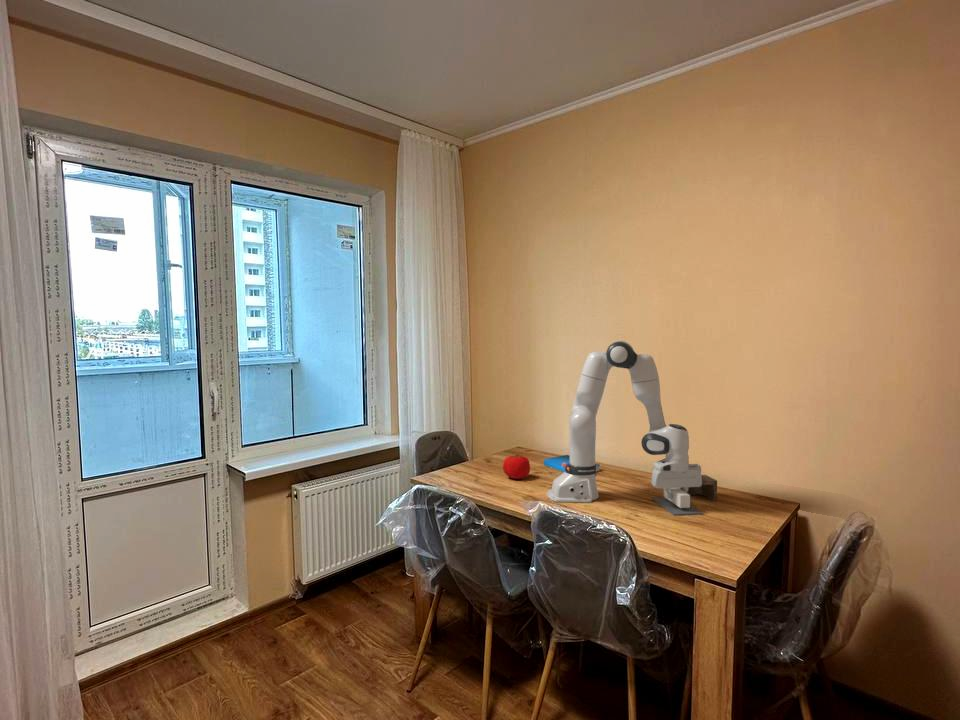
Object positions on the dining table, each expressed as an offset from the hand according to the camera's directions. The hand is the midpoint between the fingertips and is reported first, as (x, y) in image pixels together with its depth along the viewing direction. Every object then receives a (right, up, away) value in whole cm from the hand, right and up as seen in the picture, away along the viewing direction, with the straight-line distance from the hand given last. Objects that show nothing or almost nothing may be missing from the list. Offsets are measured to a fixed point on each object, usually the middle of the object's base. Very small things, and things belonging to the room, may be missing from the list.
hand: (676, 497), depth 203 cm
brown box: (+14, -3, +11) cm, 18 cm away
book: (-32, -1, +59) cm, 67 cm away
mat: (0, -4, 0) cm, 4 cm away
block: (0, -2, 0) cm, 2 cm away
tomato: (-62, -2, +42) cm, 75 cm away
